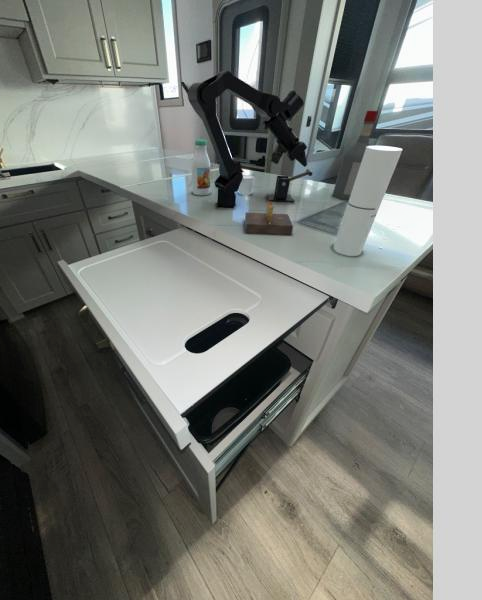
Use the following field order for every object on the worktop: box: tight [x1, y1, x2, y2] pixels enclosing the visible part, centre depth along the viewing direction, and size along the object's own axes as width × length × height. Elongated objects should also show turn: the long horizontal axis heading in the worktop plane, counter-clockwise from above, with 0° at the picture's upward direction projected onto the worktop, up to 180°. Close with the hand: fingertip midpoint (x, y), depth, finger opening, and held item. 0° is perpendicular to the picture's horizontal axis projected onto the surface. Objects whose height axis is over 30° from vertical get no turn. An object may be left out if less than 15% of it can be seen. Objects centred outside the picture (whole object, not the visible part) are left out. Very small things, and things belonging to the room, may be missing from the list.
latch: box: [284, 168, 313, 182], centre depth 103 cm, size 12×5×2 cm, turn 86°
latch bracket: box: [266, 175, 295, 204], centre depth 106 cm, size 10×8×9 cm
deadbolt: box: [265, 200, 274, 222], centre depth 83 cm, size 5×1×5 cm, turn 174°
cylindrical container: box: [333, 145, 403, 257], centre depth 66 cm, size 7×7×25 cm
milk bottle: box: [191, 139, 211, 196], centre depth 109 cm, size 8×8×20 cm
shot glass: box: [237, 174, 256, 196], centre depth 113 cm, size 7×7×7 cm
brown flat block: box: [244, 212, 294, 236], centre depth 85 cm, size 14×10×3 cm
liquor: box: [332, 110, 379, 202], centre depth 103 cm, size 9×9×30 cm
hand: (305, 165), depth 100 cm, fingers closed
